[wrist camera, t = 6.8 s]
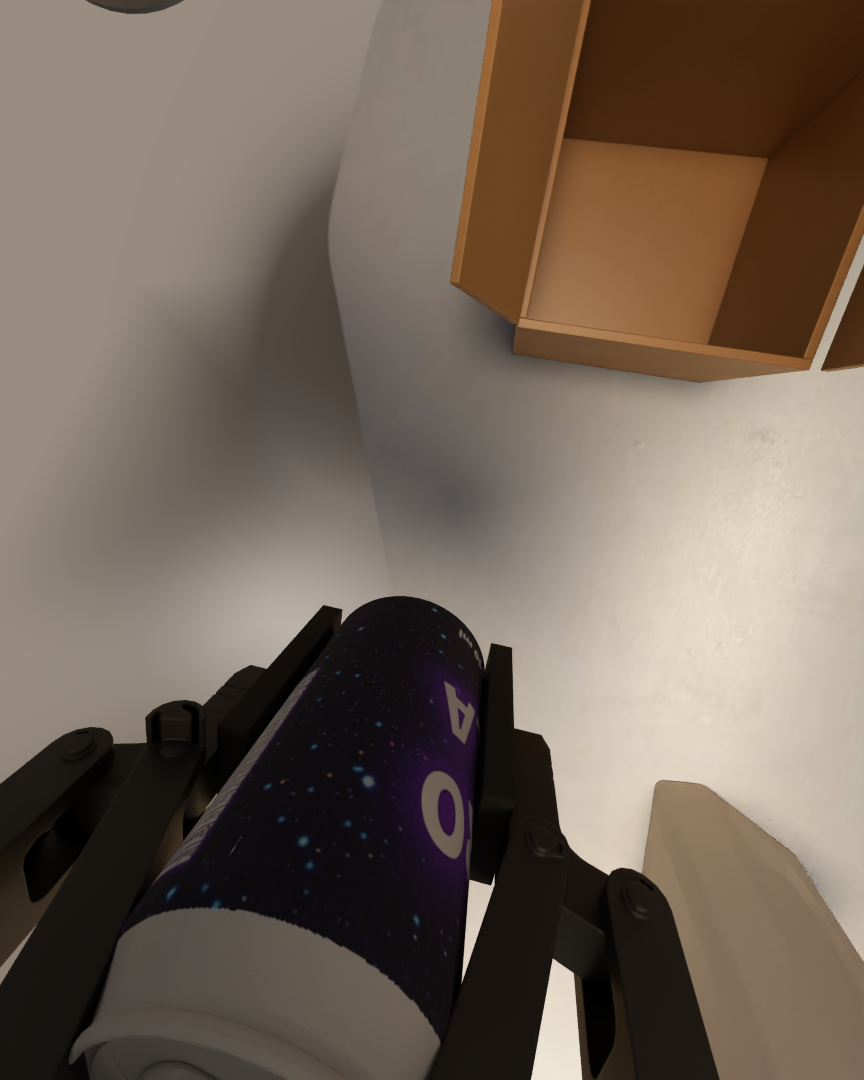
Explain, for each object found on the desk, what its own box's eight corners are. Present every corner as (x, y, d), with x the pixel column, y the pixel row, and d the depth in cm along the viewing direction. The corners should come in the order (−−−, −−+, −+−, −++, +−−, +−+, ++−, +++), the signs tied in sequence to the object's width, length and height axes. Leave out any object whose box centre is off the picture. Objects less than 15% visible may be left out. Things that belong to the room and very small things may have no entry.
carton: (512, 353, 37) (519, 295, 17) (556, 132, 32) (635, -303, 12) (710, 384, 35) (973, 358, 15) (788, 155, 30) (1310, -305, 11)
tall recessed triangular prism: (776, 929, 49) (1087, 1533, 23) (636, 909, 52) (772, 1434, 25) (815, 795, 44) (1283, 1387, 17) (656, 779, 46) (856, 1280, 20)
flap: (518, 324, 23) (511, 323, 23) (595, -64, 18) (586, -61, 19) (458, 283, 17) (449, 283, 17) (551, -317, 12) (538, -310, 12)
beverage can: (406, 737, 18) (246, 1286, 7) (312, 639, 18) (-38, 1073, 6) (516, 668, 16) (542, 1256, 5) (417, 555, 16) (193, 952, 4)
